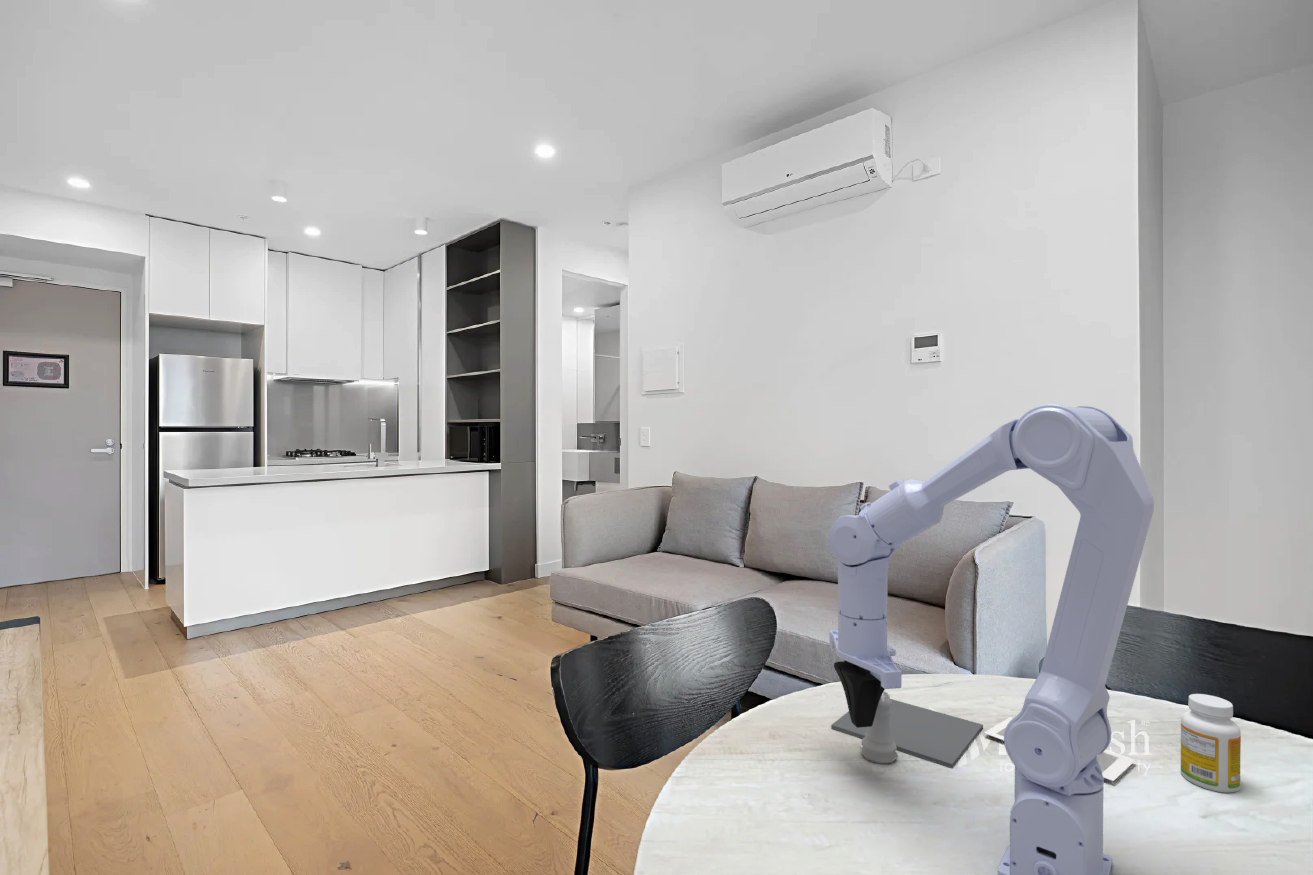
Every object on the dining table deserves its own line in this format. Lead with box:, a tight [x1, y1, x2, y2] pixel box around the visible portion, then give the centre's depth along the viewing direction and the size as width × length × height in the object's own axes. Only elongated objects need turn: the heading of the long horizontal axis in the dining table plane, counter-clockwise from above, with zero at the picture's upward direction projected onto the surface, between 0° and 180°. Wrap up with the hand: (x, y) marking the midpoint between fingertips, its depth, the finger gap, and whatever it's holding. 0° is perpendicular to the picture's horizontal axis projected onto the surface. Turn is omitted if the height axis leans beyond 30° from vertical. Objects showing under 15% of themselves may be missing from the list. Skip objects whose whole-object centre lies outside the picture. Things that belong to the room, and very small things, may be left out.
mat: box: [830, 698, 984, 769], centre depth 90 cm, size 14×16×1 cm
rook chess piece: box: [860, 691, 898, 765], centre depth 82 cm, size 4×4×8 cm
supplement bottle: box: [1180, 693, 1242, 794], centre depth 76 cm, size 5×5×10 cm
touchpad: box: [983, 716, 1136, 782], centre depth 83 cm, size 8×15×2 cm, turn 37°
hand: (862, 724), depth 78 cm, fingers closed
